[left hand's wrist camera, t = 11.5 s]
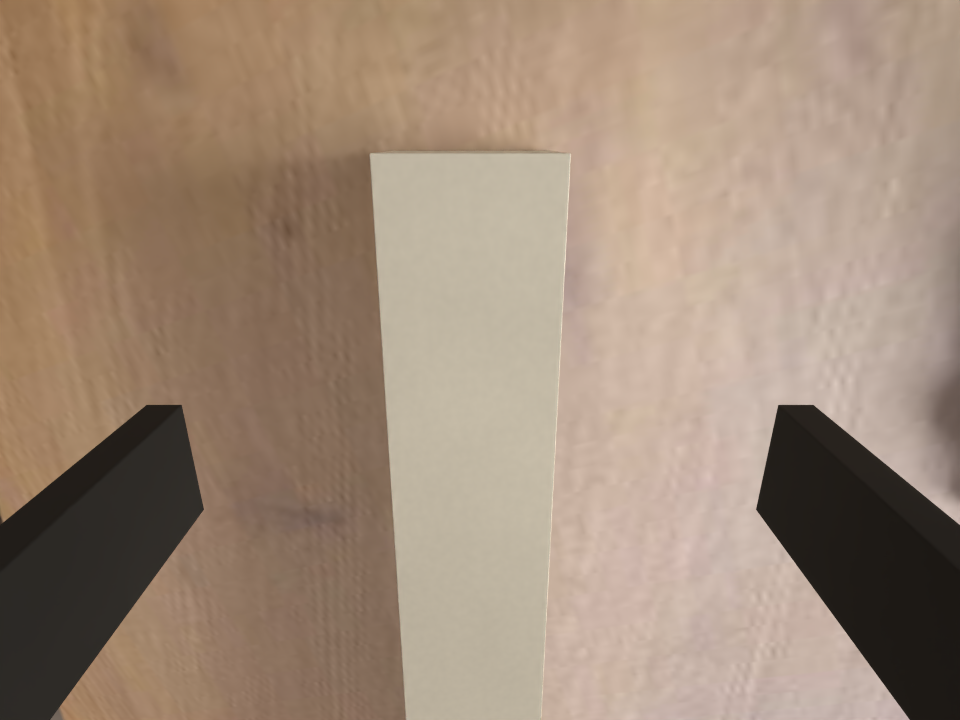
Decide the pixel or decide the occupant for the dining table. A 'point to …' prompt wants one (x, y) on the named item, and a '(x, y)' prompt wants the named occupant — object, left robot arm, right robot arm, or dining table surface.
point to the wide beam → (471, 416)
